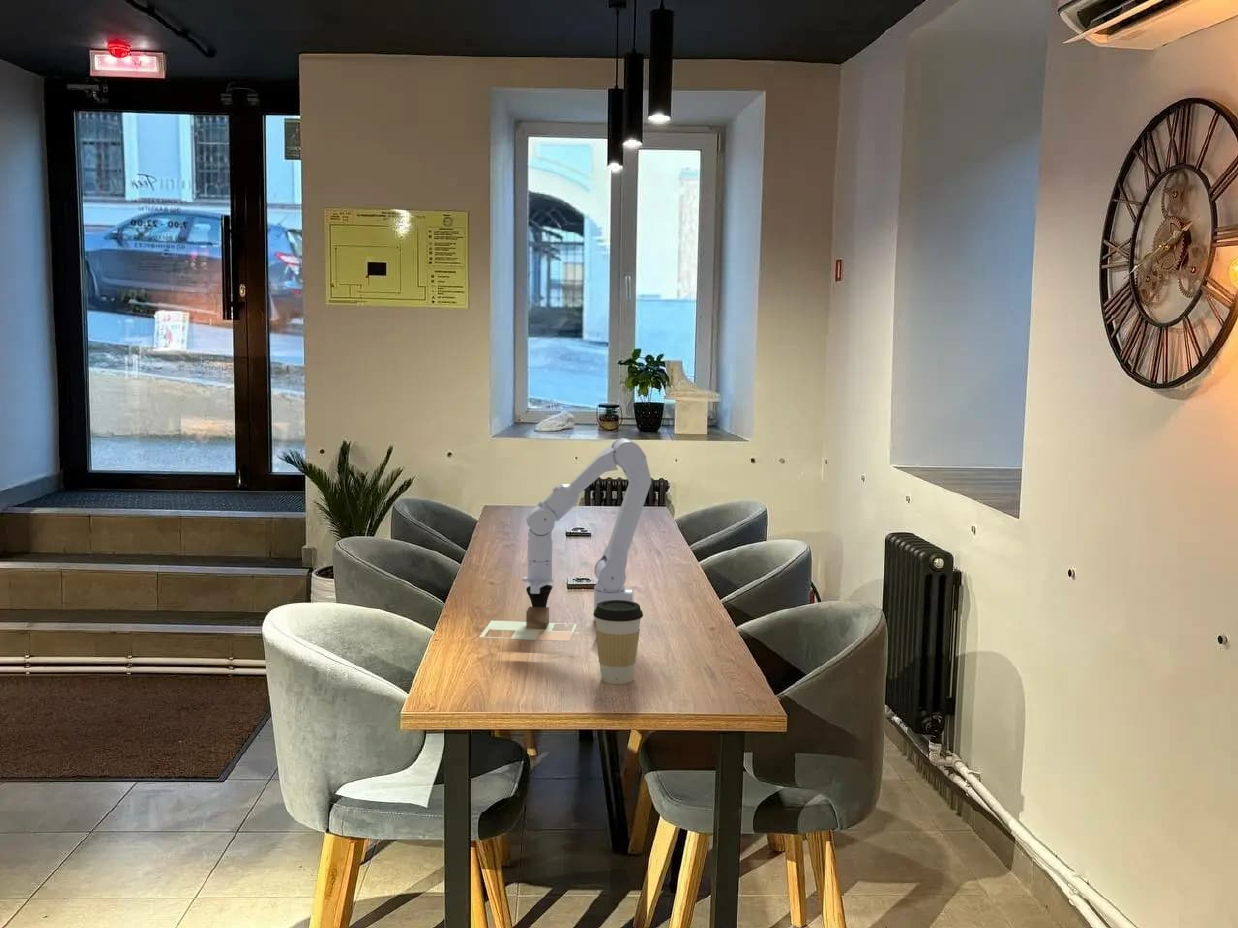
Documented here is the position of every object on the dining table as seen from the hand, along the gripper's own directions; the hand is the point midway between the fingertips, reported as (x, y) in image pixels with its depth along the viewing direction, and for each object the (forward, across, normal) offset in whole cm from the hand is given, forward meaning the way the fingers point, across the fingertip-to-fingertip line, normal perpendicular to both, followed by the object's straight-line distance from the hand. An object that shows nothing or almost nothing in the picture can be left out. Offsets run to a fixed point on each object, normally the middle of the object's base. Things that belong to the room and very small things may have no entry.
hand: (539, 616), depth 246 cm
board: (+2, +8, -1) cm, 9 cm away
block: (+1, +5, 0) cm, 5 cm away
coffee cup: (+3, +35, +21) cm, 41 cm away
